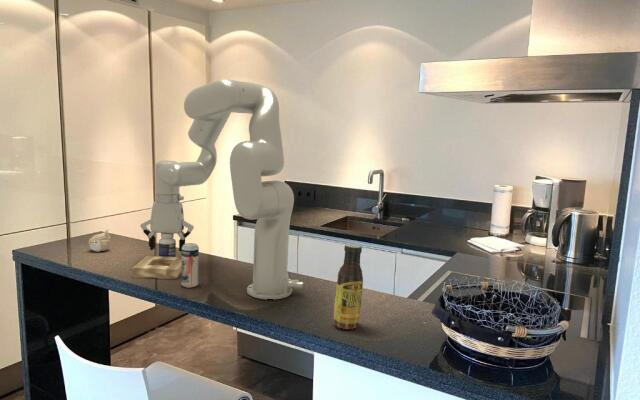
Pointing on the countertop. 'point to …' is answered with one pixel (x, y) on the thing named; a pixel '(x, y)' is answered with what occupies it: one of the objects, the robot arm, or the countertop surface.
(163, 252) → the pill bottle
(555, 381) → the countertop surface
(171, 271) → the socket block
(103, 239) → the garlic bulb
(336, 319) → the sauce bottle
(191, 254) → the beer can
